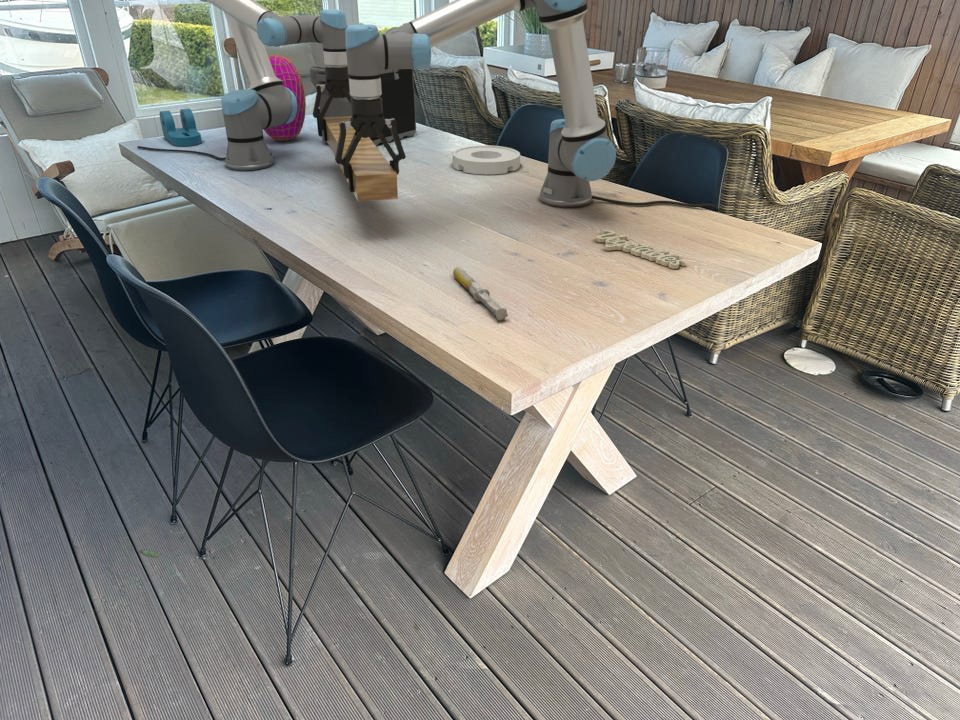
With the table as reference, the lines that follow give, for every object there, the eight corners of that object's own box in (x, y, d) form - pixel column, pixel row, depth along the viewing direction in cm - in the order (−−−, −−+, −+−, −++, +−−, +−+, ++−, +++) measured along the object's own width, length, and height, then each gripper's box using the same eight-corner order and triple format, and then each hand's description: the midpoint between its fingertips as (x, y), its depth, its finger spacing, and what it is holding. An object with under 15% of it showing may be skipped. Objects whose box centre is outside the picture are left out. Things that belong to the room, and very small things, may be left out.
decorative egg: (293, 132, 276) (283, 50, 261) (319, 140, 264) (310, 56, 249) (249, 139, 265) (236, 54, 250) (273, 148, 253) (261, 60, 238)
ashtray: (454, 156, 246) (454, 144, 244) (519, 157, 245) (519, 146, 243) (450, 173, 226) (450, 161, 224) (520, 175, 225) (521, 162, 223)
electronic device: (379, 127, 286) (374, 48, 270) (420, 134, 275) (417, 53, 259) (313, 143, 260) (303, 57, 245) (355, 152, 249) (347, 63, 234)
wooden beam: (397, 199, 170) (396, 173, 167) (357, 201, 167) (356, 175, 164) (354, 135, 231) (353, 116, 228) (324, 137, 229) (322, 117, 226)
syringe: (449, 274, 155) (449, 263, 153) (465, 272, 156) (464, 260, 154) (490, 323, 135) (491, 310, 133) (508, 319, 136) (508, 307, 134)
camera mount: (164, 137, 265) (157, 109, 260) (192, 134, 270) (186, 106, 265) (176, 147, 253) (170, 117, 247) (205, 143, 258) (200, 114, 252)
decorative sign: (581, 237, 173) (606, 228, 179) (581, 241, 174) (606, 232, 179) (668, 269, 156) (693, 258, 162) (668, 273, 157) (693, 262, 162)
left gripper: (371, 63, 218) (374, 135, 230) (298, 64, 212) (306, 138, 224) (375, 67, 212) (378, 140, 223) (300, 68, 206) (308, 143, 217)
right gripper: (409, 92, 169) (412, 181, 181) (316, 96, 164) (326, 188, 175) (415, 97, 163) (419, 189, 175) (319, 101, 157) (329, 197, 169)
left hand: (342, 139), depth 223 cm, fingers closed on wooden beam, 10 cm apart
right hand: (372, 188), depth 175 cm, fingers closed on wooden beam, 10 cm apart
